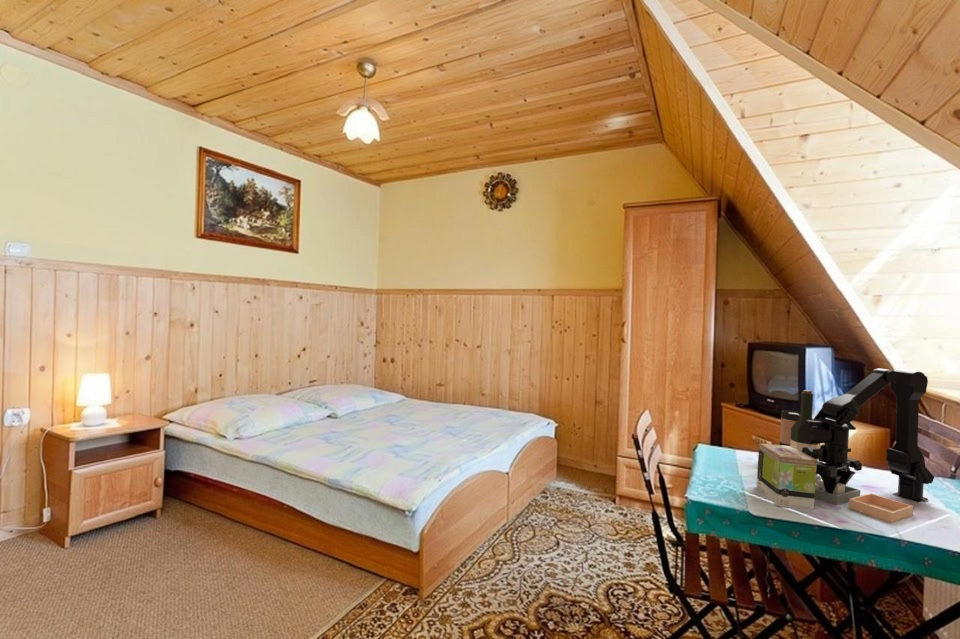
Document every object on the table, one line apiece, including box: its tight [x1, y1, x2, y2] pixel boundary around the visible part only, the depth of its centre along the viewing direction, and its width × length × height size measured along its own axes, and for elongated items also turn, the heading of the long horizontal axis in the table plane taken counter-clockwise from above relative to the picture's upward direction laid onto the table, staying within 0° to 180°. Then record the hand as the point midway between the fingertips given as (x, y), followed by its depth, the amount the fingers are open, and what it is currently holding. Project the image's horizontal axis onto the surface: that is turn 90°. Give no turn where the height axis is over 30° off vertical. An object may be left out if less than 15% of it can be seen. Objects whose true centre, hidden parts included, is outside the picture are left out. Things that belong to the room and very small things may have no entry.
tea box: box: [756, 443, 817, 510], centre depth 139 cm, size 15×10×15 cm, turn 170°
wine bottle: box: [790, 389, 820, 476], centre depth 159 cm, size 8×8×30 cm
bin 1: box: [814, 475, 861, 505], centre depth 147 cm, size 13×22×4 cm, turn 27°
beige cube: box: [823, 483, 845, 495], centre depth 141 cm, size 4×4×4 cm
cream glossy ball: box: [815, 479, 823, 490], centre depth 146 cm, size 3×3×3 cm
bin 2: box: [848, 492, 914, 523], centre depth 131 cm, size 12×10×3 cm
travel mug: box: [779, 409, 801, 446], centre depth 171 cm, size 8×8×20 cm
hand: (833, 494), depth 141 cm, fingers open, 5 cm apart
